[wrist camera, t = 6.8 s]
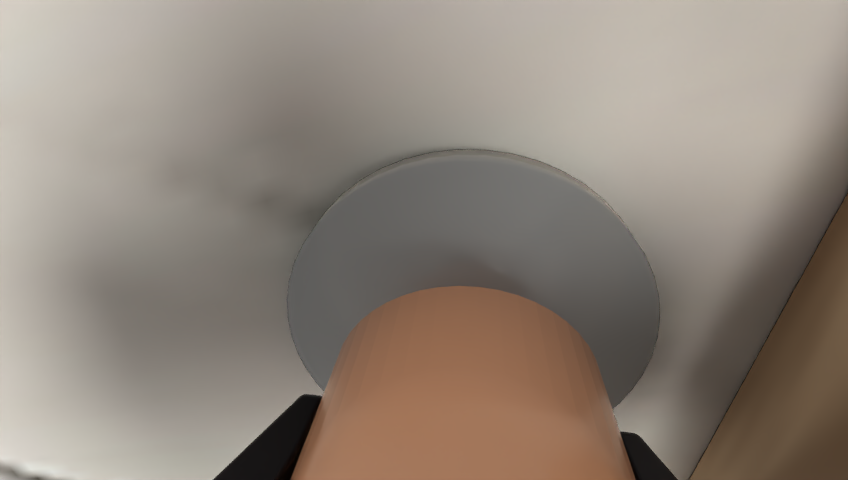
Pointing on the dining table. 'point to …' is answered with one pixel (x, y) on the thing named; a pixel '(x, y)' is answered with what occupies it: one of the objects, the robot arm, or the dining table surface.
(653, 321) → the saucer
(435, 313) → the tan cylinder
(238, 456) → the robot arm
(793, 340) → the box
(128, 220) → the dining table surface
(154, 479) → the dining table surface
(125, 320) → the dining table surface
